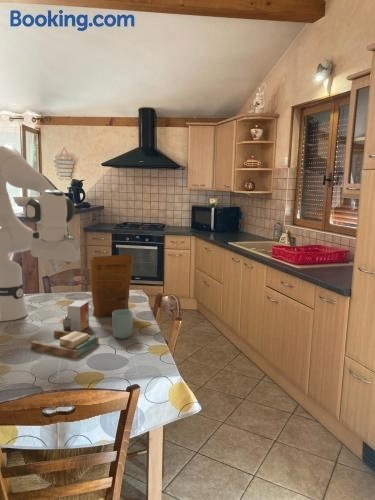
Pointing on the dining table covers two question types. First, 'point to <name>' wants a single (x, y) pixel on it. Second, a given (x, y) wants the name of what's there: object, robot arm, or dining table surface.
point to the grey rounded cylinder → (67, 324)
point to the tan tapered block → (73, 339)
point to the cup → (122, 323)
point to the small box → (79, 315)
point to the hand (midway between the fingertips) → (55, 271)
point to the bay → (64, 350)
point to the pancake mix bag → (110, 283)
